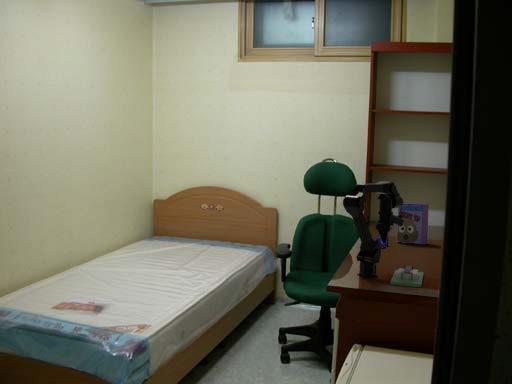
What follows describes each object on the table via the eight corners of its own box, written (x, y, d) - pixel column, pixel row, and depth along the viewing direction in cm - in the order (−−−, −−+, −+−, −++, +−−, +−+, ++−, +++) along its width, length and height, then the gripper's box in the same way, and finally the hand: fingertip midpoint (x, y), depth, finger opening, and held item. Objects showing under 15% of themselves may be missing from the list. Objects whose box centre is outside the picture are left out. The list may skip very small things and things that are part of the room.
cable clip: (381, 249, 303) (382, 238, 303) (374, 248, 306) (374, 237, 306) (390, 246, 313) (390, 236, 312) (383, 245, 315) (383, 235, 315)
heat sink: (416, 280, 222) (416, 272, 222) (396, 278, 225) (397, 270, 224) (418, 274, 234) (418, 266, 234) (399, 272, 237) (399, 264, 237)
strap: (410, 274, 223) (410, 271, 223) (403, 273, 224) (403, 271, 224) (412, 268, 234) (412, 265, 234) (405, 267, 235) (405, 265, 235)
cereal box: (396, 243, 323) (398, 203, 321) (396, 241, 328) (397, 202, 326) (427, 244, 319) (428, 204, 318) (426, 243, 324) (427, 203, 322)
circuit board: (420, 287, 216) (421, 284, 216) (390, 284, 220) (390, 281, 220) (423, 274, 238) (423, 272, 238) (395, 272, 242) (395, 269, 242)
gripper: (402, 212, 230) (401, 248, 231) (405, 208, 247) (404, 241, 249) (376, 210, 234) (374, 246, 235) (381, 207, 251) (379, 239, 252)
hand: (384, 243), depth 243 cm, fingers closed
